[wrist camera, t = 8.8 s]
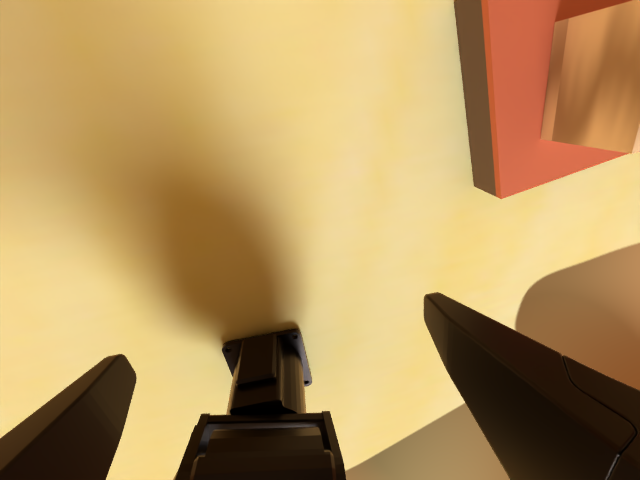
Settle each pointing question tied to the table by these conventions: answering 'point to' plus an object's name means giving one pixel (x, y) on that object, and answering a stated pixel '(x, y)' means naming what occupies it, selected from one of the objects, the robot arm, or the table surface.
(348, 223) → the table surface
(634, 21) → the masu
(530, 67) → the red square block
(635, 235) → the table surface
